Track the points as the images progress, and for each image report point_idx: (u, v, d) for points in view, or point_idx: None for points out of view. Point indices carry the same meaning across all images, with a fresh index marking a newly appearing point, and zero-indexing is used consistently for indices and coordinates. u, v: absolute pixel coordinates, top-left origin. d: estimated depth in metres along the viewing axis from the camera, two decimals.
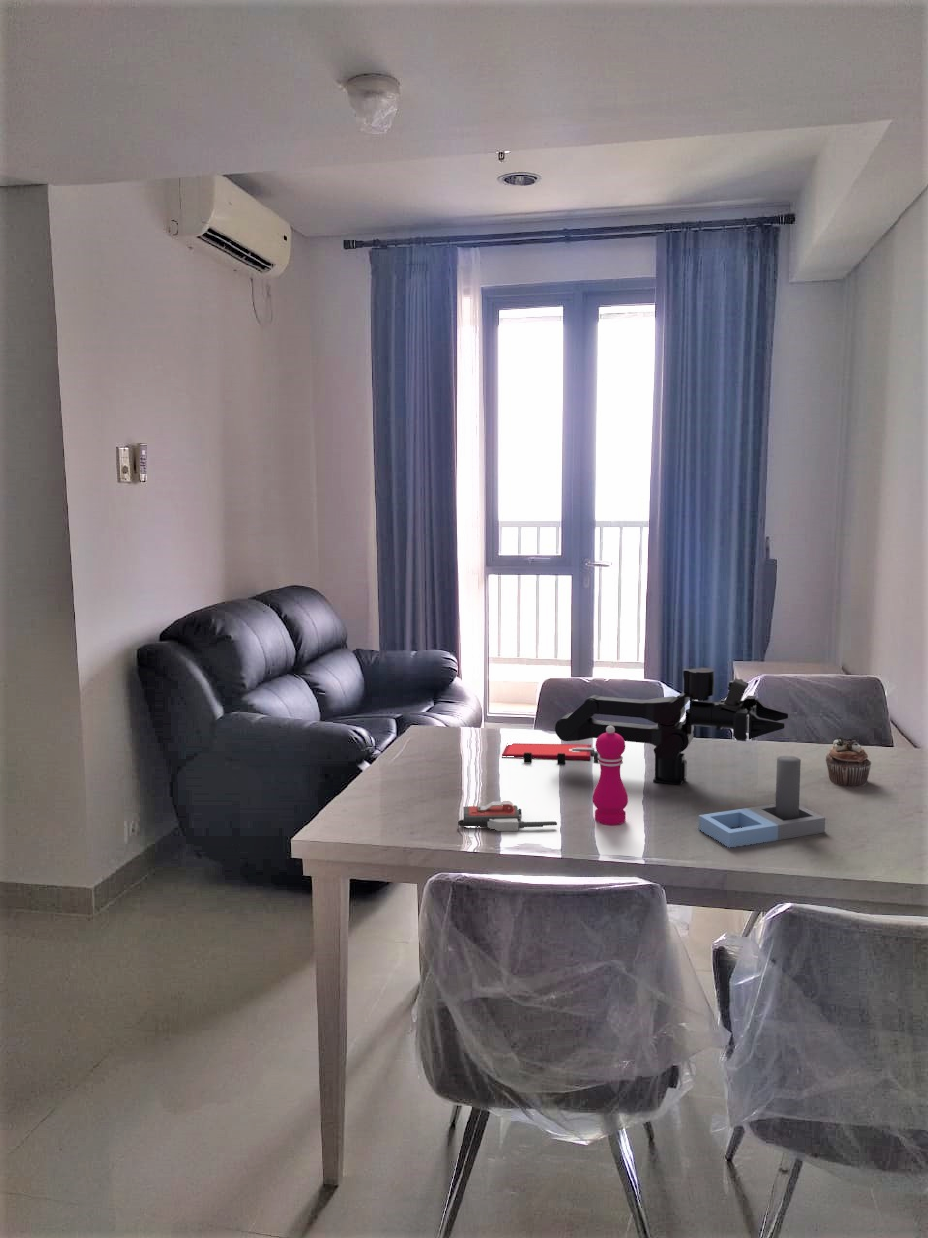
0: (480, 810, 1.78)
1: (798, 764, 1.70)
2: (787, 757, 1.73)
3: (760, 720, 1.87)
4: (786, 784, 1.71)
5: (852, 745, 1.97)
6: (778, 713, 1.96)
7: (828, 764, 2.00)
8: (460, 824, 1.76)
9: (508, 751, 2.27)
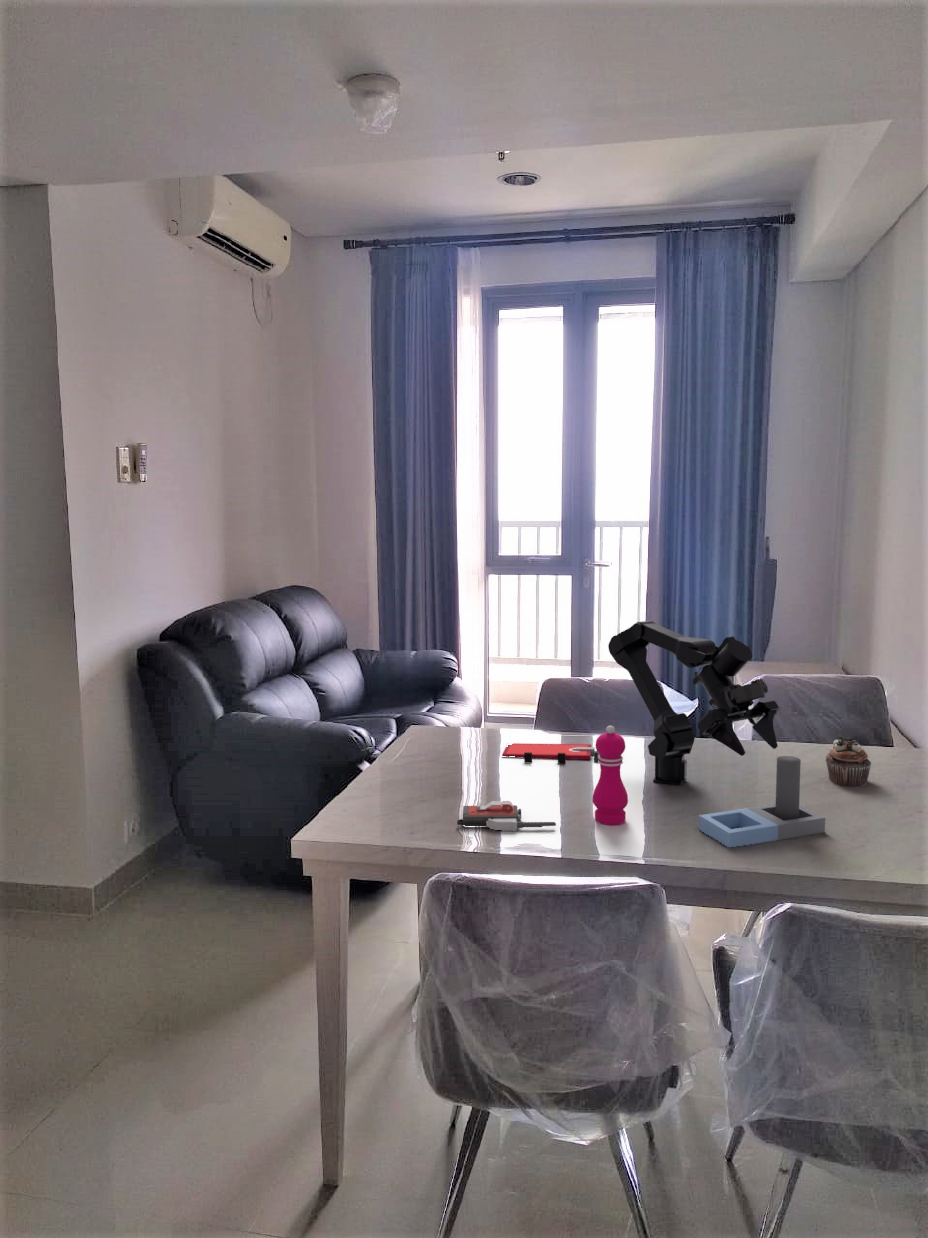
0: (479, 810, 1.78)
1: (798, 764, 1.70)
2: (787, 757, 1.73)
3: (728, 733, 1.77)
4: (786, 784, 1.71)
5: (852, 745, 1.97)
6: (771, 738, 1.81)
7: (828, 764, 2.00)
8: (459, 823, 1.76)
9: (508, 751, 2.27)
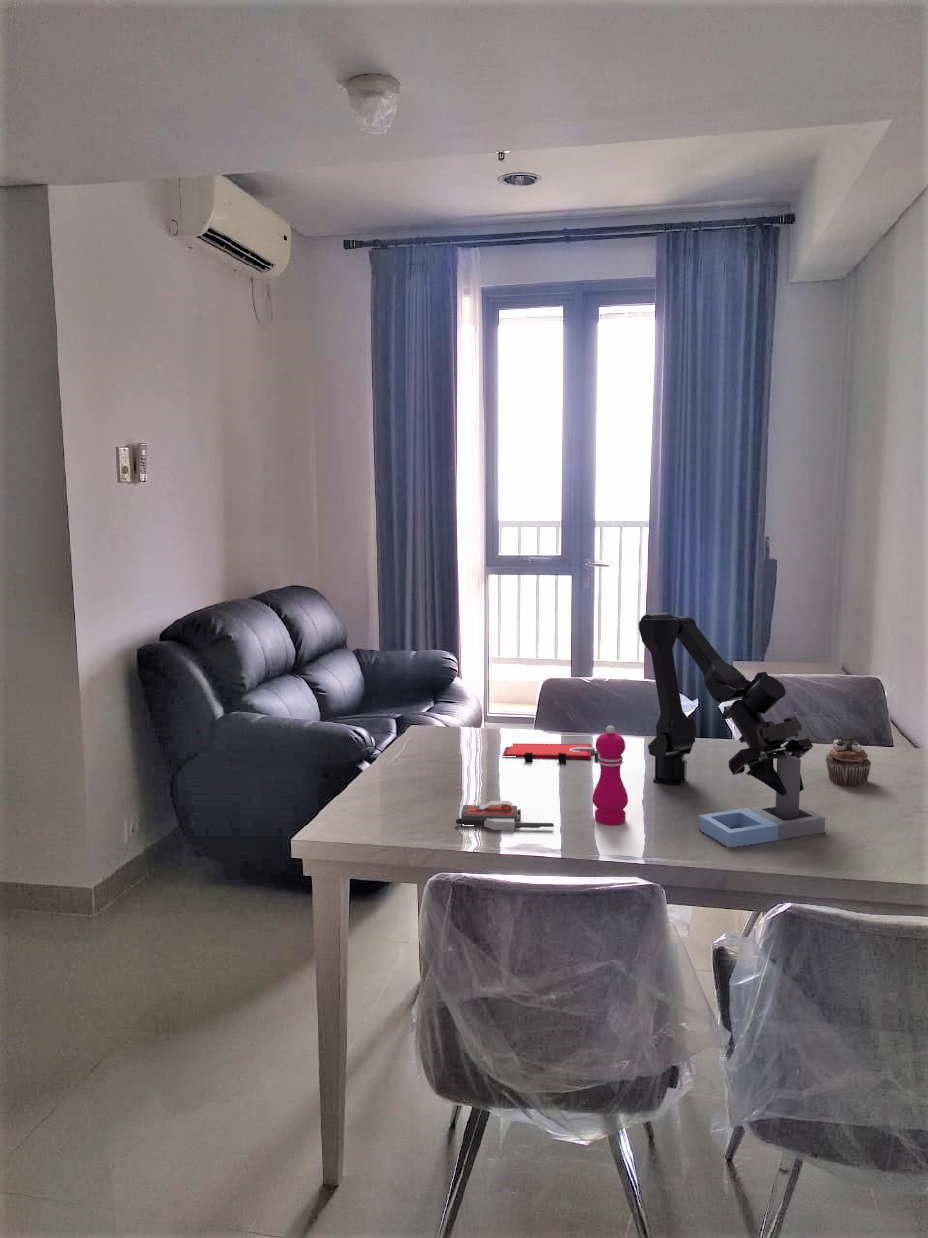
0: (478, 809, 1.79)
1: (798, 764, 1.70)
2: (787, 757, 1.73)
3: (769, 771, 1.71)
4: (786, 784, 1.71)
5: (852, 745, 1.97)
6: None
7: (828, 764, 2.00)
8: (457, 822, 1.77)
9: (508, 752, 2.27)
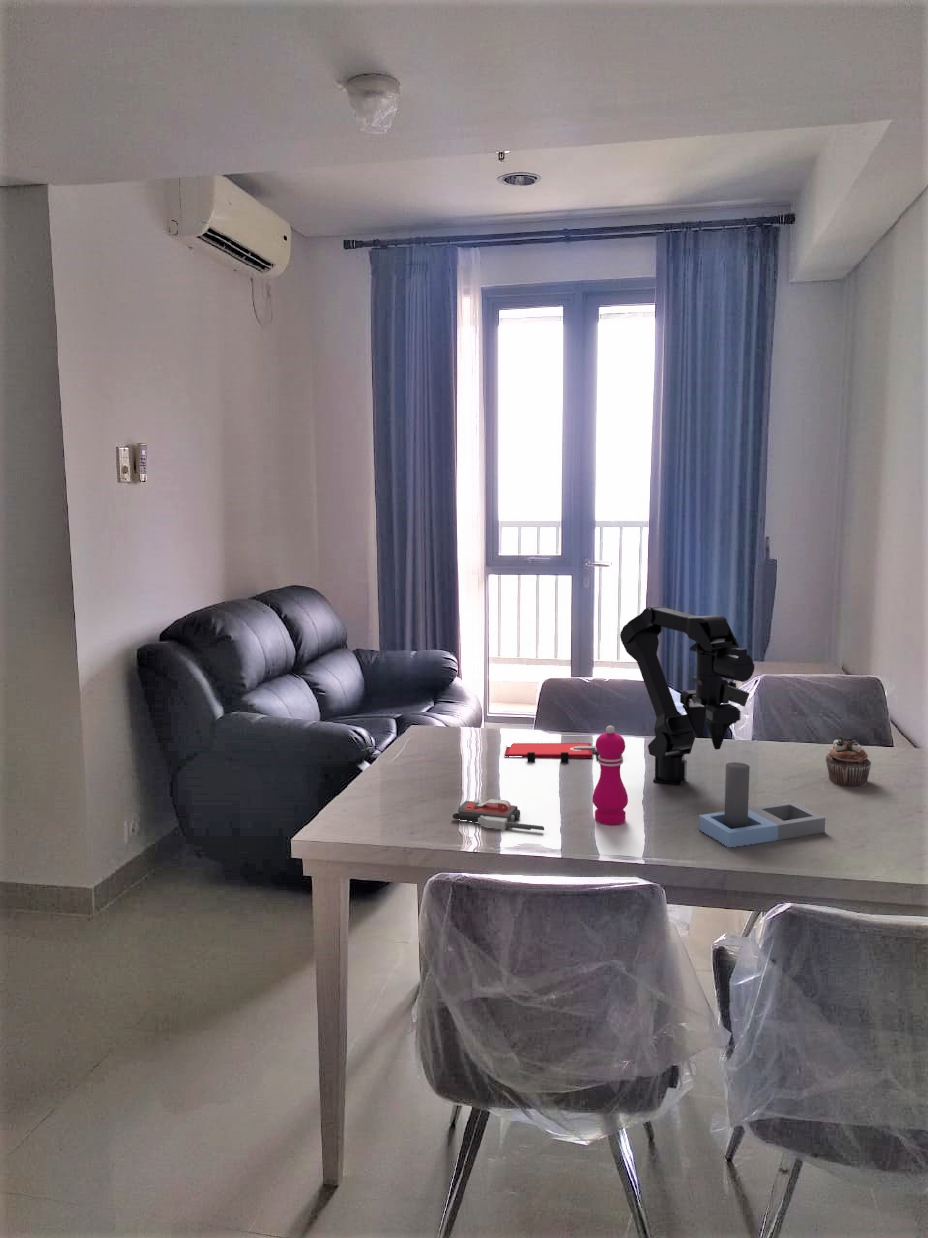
0: (476, 806, 1.81)
1: (744, 772, 1.66)
2: (739, 764, 1.69)
3: (726, 729, 1.84)
4: (730, 791, 1.67)
5: (852, 745, 1.97)
6: (702, 729, 1.95)
7: (828, 764, 2.00)
8: (454, 817, 1.80)
9: (509, 752, 2.27)
